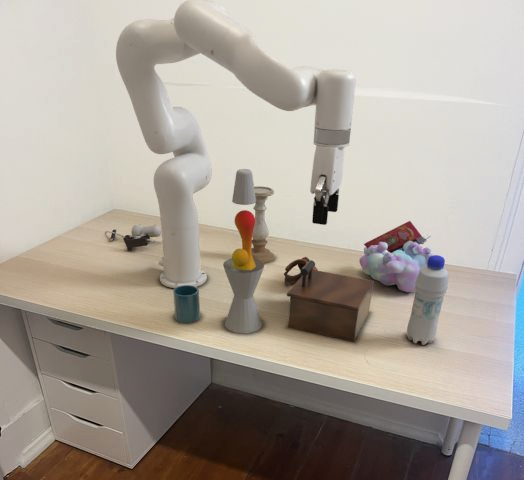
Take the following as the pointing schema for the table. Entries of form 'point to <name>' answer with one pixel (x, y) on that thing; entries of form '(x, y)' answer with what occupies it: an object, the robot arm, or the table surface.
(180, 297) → the cup
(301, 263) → the pottery mug
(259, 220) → the candle holder
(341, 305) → the lid
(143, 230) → the clip-on lamp
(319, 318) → the chest
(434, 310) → the bottle
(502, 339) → the table surface
